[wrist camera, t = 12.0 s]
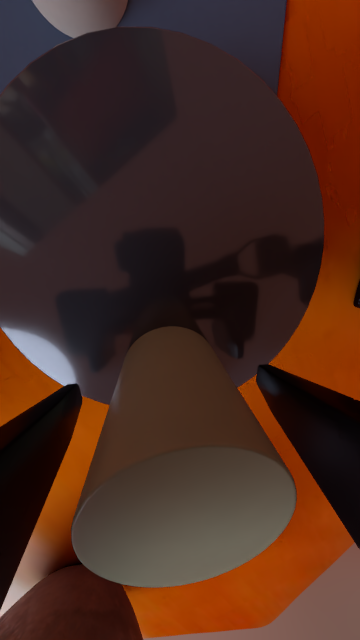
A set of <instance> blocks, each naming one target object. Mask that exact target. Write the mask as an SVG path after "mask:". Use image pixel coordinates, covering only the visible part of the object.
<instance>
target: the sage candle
mask: <svg viewBox="0 0 360 640" xmlns="http://www.w3.org/2000/svg"><path fill="white" fill-rule="evenodd" d="M296 500H297V497H296V487H295V483H294V479H293V477H292V475H291V473H290V471H289V470H288V468H287V467H286V465H285V463H284V462H283V460H282V459H281V457H280V455H279V454H278V452H277V451H276V449H275V447H274V446H273V444H272V443H271V441H270V440H269V438H268V436H267V435H266V433H265V432H264V430H263V428H262V427H261V425H260V424H259V422H258V420H257V419H256V417H255V416H254V414H253V413H252V411H251V409H250V408H249V406H248V405H247V403H246V401H245V400H244V398H243V397H242V395H241V393H240V392H239V390H238V389H237V387H236V385H235V384H234V382H233V381H232V379H231V378H230V376H229V374H228V373H227V371H226V370H225V368H224V366H223V365H222V363H221V362H220V360H219V358H218V357H217V355H216V354H215V352H214V350H213V349H212V347H211V346H210V344H209V343H208V342H207V341H206V340H205V339H204V338H203V337H202V336H201V335H200V334H198V333H196V332H194V331H192V330H190V329H187V328H183V327H176V326H168V327H161V328H158V329H154V330H152V331H149V332H148V333H146V334H144V335H143V336H141V337H140V338H138V339H137V340H136V341H135V342H134V343H133V345H132V346H131V347H130V349H129V350H128V352H127V354H126V357H125V359H124V363H123V366H122V369H121V372H120V375H119V378H118V381H117V384H116V387H115V391H114V394H113V397H112V400H111V403H110V406H109V409H108V412H107V415H106V419H105V422H104V425H103V428H102V431H101V434H100V437H99V440H98V443H97V446H96V450H95V453H94V456H93V459H92V462H91V465H90V468H89V471H88V474H87V478H86V481H85V484H84V487H83V490H82V493H81V496H80V499H79V502H78V505H77V509H76V512H75V515H74V518H73V523H72V527H71V540H72V545H73V549H74V551H75V553H76V555H77V557H78V559H79V560H80V561H81V562H82V563H83V565H84V566H85V567H87V568H88V569H89V570H90V571H92V572H93V573H95V574H97V575H99V576H100V577H103V578H105V579H107V580H110V581H113V582H116V583H120V584H124V585H130V586H137V587H170V586H178V585H184V584H190V583H194V582H198V581H202V580H206V579H209V578H212V577H215V576H218V575H220V574H223V573H225V572H228V571H230V570H232V569H234V568H236V567H238V566H240V565H242V564H244V563H246V562H247V561H249V560H251V559H252V558H254V557H255V556H257V555H258V554H259V553H261V552H262V551H263V550H265V549H266V548H267V547H268V546H269V545H270V544H271V543H273V542H274V541H275V540H276V538H277V537H278V536H279V535H280V534H281V533H282V532H283V530H284V529H285V527H286V526H287V525H288V523H289V521H290V519H291V517H292V515H293V512H294V509H295V505H296Z"/></svg>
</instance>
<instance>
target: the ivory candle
mask: <svg viewBox="0 0 360 640" xmlns="http://www.w3.org/2000/svg"><path fill="white" fill-rule="evenodd" d="M32 1H33V3H34V5H35V6H36V7H37V9H38V10H39V11H40V13H41V14H42V15H43V16H44V17H45V18H46V19H47V20H48V21H49V22H50V23H51V24H52V25H53V26H54V27H55V28H57V29H58V30H59V31H61V32H62V33H64V34H66V35H68V36H70V37H72V38H75V37H78V36H80V35H83V34H85V33H88V32H93V31H99V30H104V29H109V28H114V27H116V26H117V25H118V24H119V22H120V20H121V18H122V17H123V14H124V12H125V9H126V6H127V2H128V0H32Z"/></svg>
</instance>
